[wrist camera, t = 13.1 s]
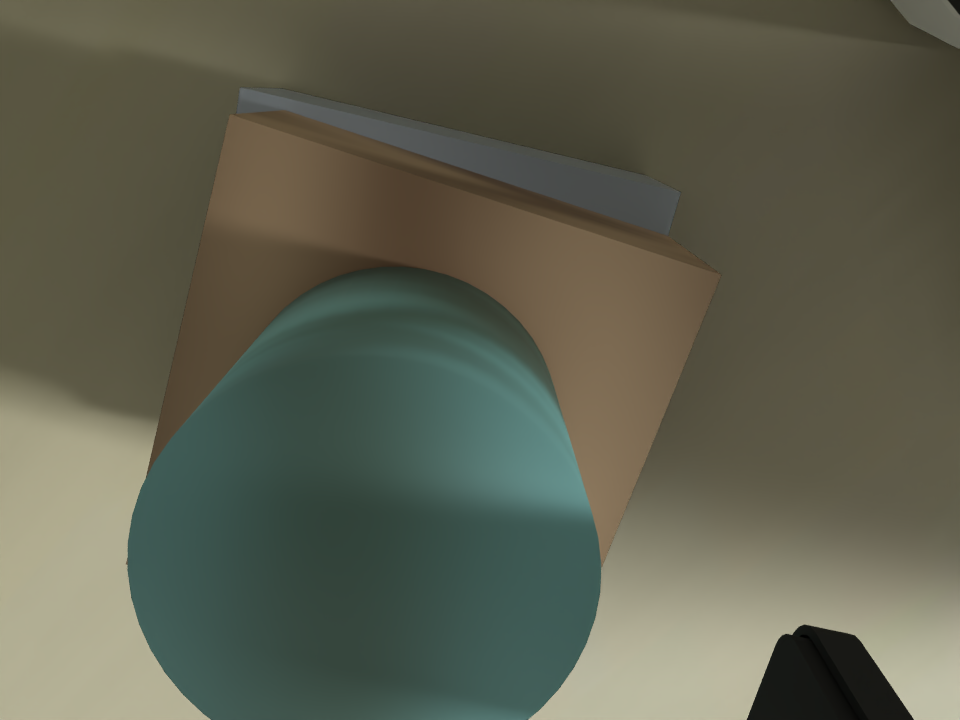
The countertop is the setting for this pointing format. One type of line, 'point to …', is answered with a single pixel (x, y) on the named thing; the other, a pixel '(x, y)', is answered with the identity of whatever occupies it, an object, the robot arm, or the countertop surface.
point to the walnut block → (452, 251)
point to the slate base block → (490, 158)
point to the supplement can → (933, 17)
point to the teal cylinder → (371, 517)
